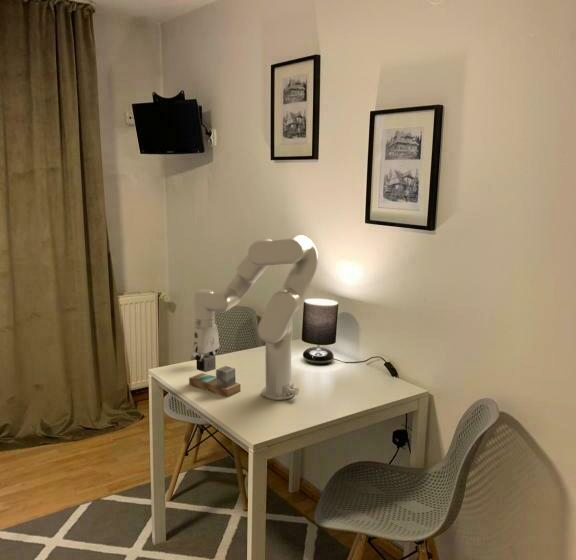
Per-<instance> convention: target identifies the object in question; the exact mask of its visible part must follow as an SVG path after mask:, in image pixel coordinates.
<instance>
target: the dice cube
mask: <svg viewBox="0 0 576 560" xmlns="http://www.w3.org/2000/svg"><path fill="white" fill-rule="evenodd" d="M199 357H200V355H199ZM202 361H204V371H202V373H208V372H211V371H214V370H217V369H216V368H217V367H216V365H217V364H216V356H212V355H210V354H209V353H208V354H207V353H206V354H204V355H203V360H202Z"/></svg>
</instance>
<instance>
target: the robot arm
mask: <svg viewBox="0 0 576 560" xmlns="http://www.w3.org/2000/svg"><path fill="white" fill-rule="evenodd" d="M318 263H319V256H318V250H317V248H316V246H315V244H314V243H313V241H312V240H311V239H310V238H308V237H307V236H305V235H302V234H300V235H297V234H296V235H293V236H292V237H289V238H286V239H277V240H276V239H275V240H274V239H271V238H266V237H264V238H261V239H259V240H256V241H254V242H253V243H251V245H250V246H249V248H248V250H247V255H246V256H245V257H244V258H243V259H242V261H241V262H240V263H239V264H238V265H237V267H236V274H235V276H234V277H233V278H232V280H231V281H230V282H229V284H228V285H226V287H225V288H224V289H222V290H220V291H217V292H214V290H212V289H206V288H205V289H202V288H201V289H198V290H197V289H196V291H194V295H193V297H194V298H193V299H194V322H193V325H194V328H193V332H192V334H193V335H192V350H191V351H190V354H189V355H190V356H191V357H193V358H194V359H195V361H196V370H197V371H200V372H203V371H204V361H202V360H203V355H204V354H207V353H208V354H210V355H212V356H215V357H216V356H217V352H218V350H219V349H220V346H221V344H220V339H219V338H220V337H219V329H218V326H217V324H216V313H219V314H223V313H226V312H227V311H229V310H230V309H232V308H233V307H236V305H237V304H239V303H240V302H241V300H242V299H244V297H245V296H246V294H247V293H248V292H249V291H250V290H251V288H252V286H254V284H255V283H256V281H257V280H258V279H259V278H260V277H261V275H263V273H264V272H265V271H266V269H268V268H269V266H278V265H279V266H280V265H290V264H292V267H290V270H289V272H288V274H287V277H286V279H285V281H284V283H283V285H282V286H281V288H279V289H278V290H277V291H275V292H274V294H273V295H272V296H271V297H270V299H269V301H268V304H267V306H266V308H265V310H264V312H263V314H262V316H261V319H260V321H259V323H258V326H257V334H258V336H259V339H260V340H261V341H262V342H264V343H265V348H264V349H265V357H264V358H265V387H263V388H262V390H261V395H262V396H263V398H266V399H269V400H273V401H275V400H276V401H283V400H289V399H292V398H294V396H298V395H299V392H300V388H298V387H296V386H295V385H294V384H295V383H294V382H292V345H293V344H292V340H293V331H294V324H293V323H294V322H293V316H294V314H295V312H296V311H297V310H299V309H300V308H301V306H302V303H303V301H304V298H305V296H306V294H307V292H308V291H309V290H308V289H309V288H310V286H311V283H312V281H313V278H314V276H315V274H316V272H317V268H318ZM199 356H200V357H199Z"/></svg>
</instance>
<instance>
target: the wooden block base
mask: <svg viewBox="0 0 576 560" xmlns="http://www.w3.org/2000/svg"><path fill="white" fill-rule="evenodd" d="M188 385H189V387H193V388H196V389H198V390H199V389H200V390H203V391H206V392H209V393H213V394H216V395H219V396H223V397H226V398H230V397H231V396H234V395H236V394H238V393H240V392H241V383H238V382H236V368H235V367H230V366H227V365H224V366H221V367H219V368H217V369H215V376H214V375H212V374H211V375H210V374H208V373H205V372H200V373H198V374H196V375H193V376H190V377H189V378H188Z"/></svg>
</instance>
